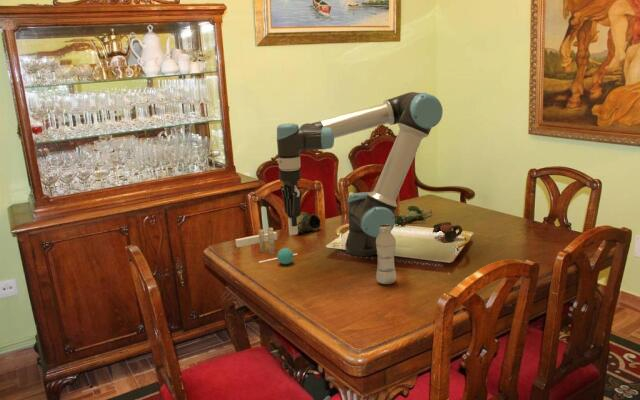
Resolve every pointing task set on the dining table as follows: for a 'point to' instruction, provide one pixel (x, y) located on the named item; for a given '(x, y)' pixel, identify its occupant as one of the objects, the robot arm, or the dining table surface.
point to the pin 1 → (262, 240)
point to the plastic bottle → (385, 255)
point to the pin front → (271, 242)
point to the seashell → (307, 222)
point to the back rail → (252, 240)
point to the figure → (411, 215)
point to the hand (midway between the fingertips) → (293, 234)
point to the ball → (285, 256)
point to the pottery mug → (447, 231)
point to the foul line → (273, 259)
